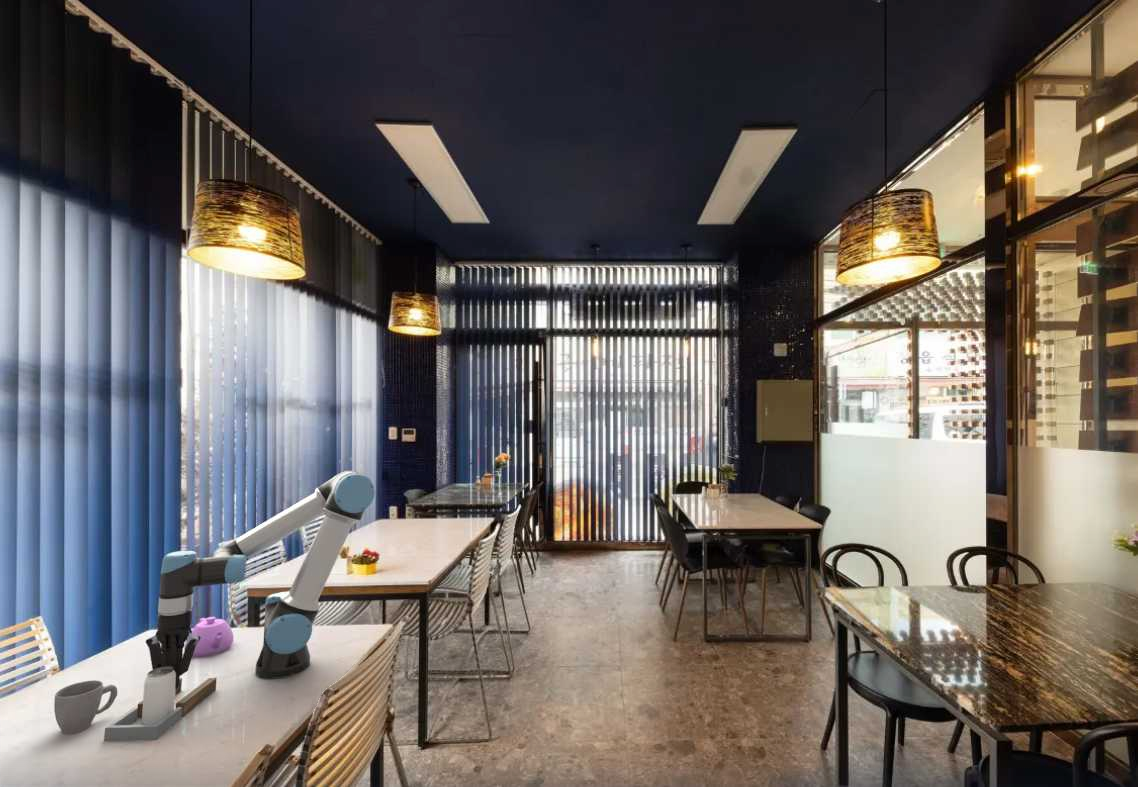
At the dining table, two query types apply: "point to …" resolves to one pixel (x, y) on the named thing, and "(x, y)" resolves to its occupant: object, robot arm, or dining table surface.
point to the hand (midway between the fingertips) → (168, 701)
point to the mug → (80, 705)
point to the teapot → (211, 637)
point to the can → (158, 695)
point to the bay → (140, 727)
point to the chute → (189, 696)
